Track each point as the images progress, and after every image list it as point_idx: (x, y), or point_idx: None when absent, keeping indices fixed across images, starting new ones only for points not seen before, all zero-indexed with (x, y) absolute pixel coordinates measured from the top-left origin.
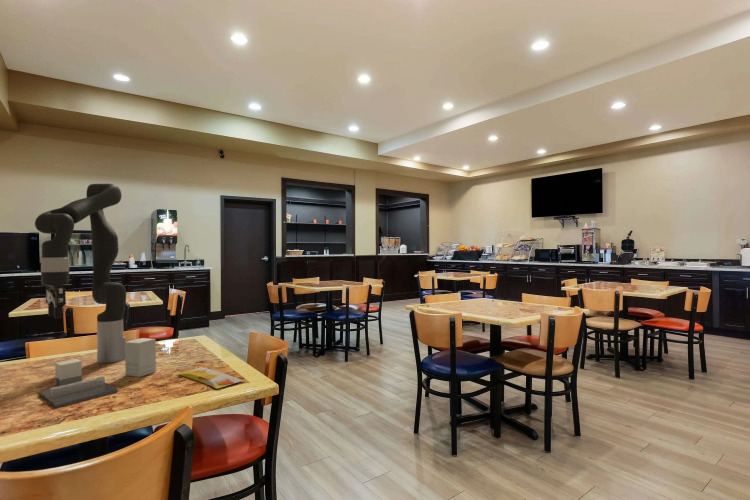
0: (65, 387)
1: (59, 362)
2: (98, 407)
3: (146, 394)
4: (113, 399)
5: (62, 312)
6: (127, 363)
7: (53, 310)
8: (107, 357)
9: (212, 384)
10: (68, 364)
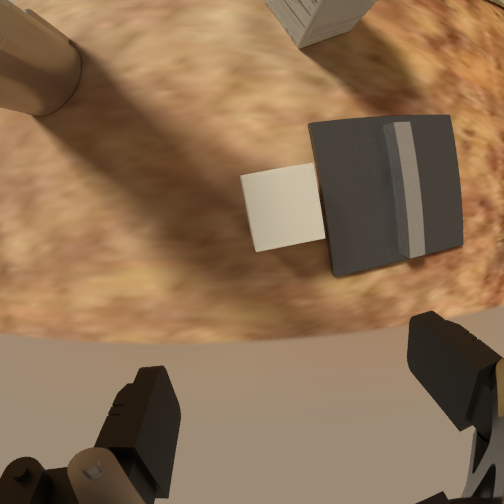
0: (422, 223)
1: (269, 238)
2: (501, 176)
3: (487, 85)
4: (481, 140)
5: (458, 336)
6: (318, 29)
7: (159, 421)
8: (68, 78)
9: (501, 3)
10: (320, 210)
